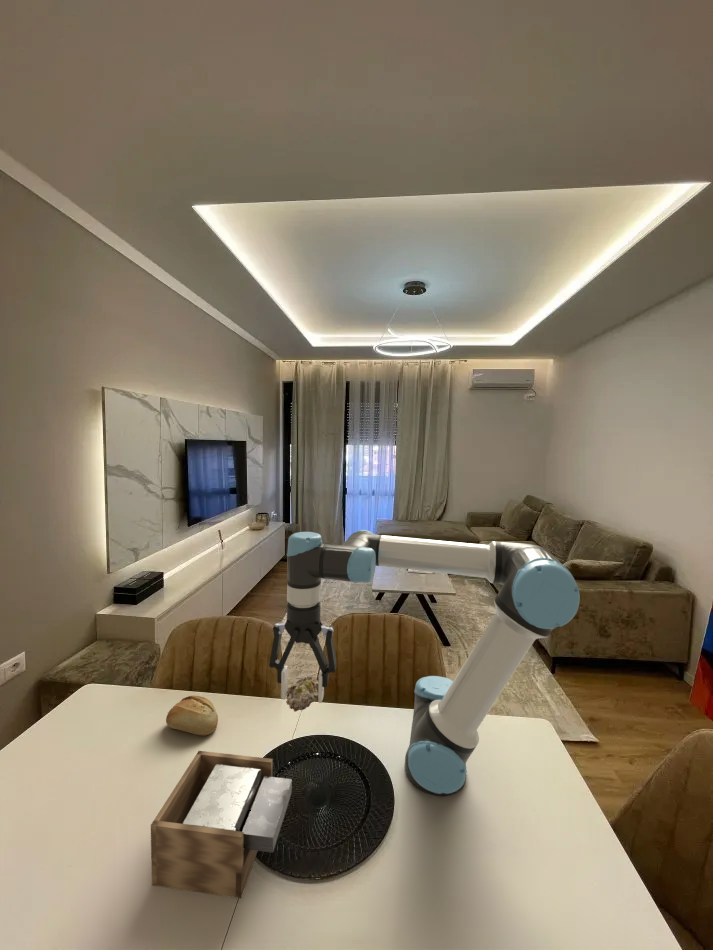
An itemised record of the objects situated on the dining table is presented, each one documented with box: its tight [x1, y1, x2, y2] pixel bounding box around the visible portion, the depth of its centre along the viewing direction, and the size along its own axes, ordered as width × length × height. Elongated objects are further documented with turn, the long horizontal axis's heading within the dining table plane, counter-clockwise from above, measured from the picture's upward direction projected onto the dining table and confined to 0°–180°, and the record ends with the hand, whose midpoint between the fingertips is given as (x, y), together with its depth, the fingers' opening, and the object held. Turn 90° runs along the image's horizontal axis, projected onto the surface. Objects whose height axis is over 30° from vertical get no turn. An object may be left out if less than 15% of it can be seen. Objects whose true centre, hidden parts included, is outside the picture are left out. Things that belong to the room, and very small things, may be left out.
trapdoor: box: [183, 764, 293, 853], centre depth 83 cm, size 17×14×4 cm
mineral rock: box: [285, 675, 319, 713], centre depth 96 cm, size 11×4×8 cm
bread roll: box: [165, 695, 219, 737], centre depth 117 cm, size 10×15×8 cm, turn 80°
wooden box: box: [150, 750, 274, 899], centre depth 84 cm, size 17×18×12 cm
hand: (302, 697), depth 95 cm, fingers closed on mineral rock, 8 cm apart
